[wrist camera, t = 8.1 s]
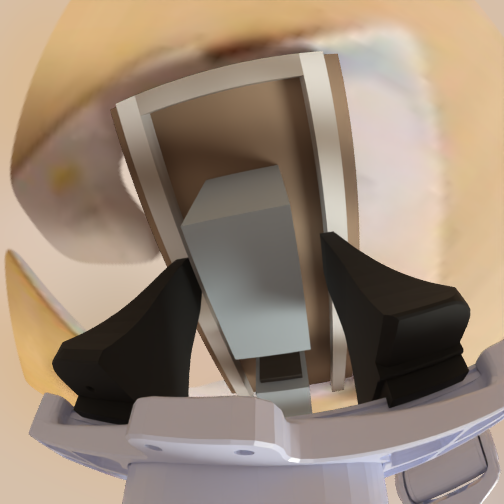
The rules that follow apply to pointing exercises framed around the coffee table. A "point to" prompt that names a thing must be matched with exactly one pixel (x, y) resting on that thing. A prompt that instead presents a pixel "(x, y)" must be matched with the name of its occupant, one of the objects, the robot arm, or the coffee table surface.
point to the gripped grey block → (250, 262)
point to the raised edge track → (244, 159)
